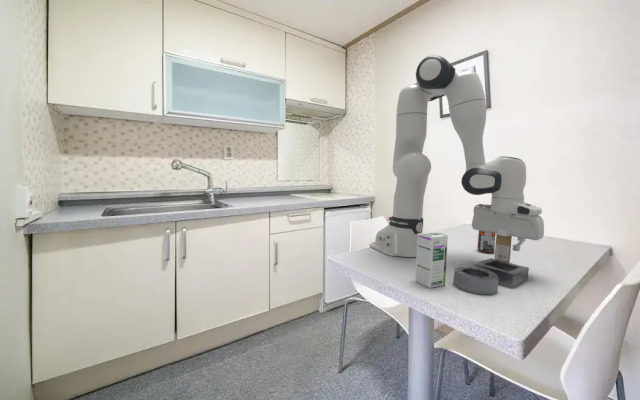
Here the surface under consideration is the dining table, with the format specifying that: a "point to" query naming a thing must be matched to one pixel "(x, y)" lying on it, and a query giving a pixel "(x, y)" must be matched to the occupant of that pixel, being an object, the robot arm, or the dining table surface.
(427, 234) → the syrup box
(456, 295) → the dining table surface
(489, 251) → the supplement bottle
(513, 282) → the square socket
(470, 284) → the round socket
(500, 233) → the sprinkles bottle
